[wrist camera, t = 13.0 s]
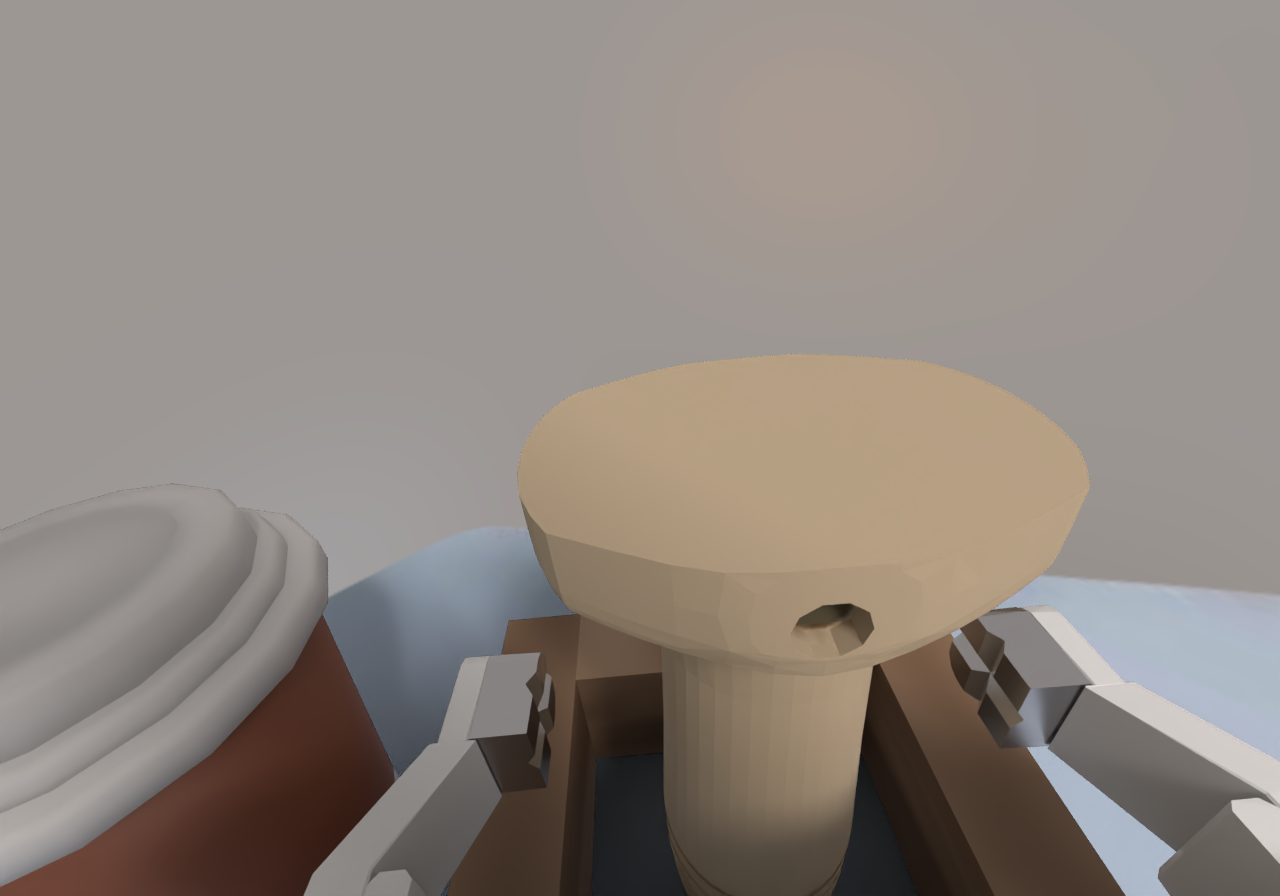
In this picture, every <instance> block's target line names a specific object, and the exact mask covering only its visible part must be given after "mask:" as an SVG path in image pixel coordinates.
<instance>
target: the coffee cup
mask: <svg viewBox="0 0 1280 896" xmlns="http://www.w3.org/2000/svg"><path fill="white" fill-rule="evenodd" d="M327 604H328V558H327V556H326V554H325V553H324V551H323V549H322V547H321V546H320V544H319V542H318V541H317V540H316V539H315V538H314V537H313V536H311V534H309V533H308V532H307V531H306V530H305V529H304V528H303V527H302V526H301V525H299V524H298V523H297V522H296V521H295V520H294V519H293V518H292V517H290V516H289V515H287V514H279V513H273V512H266V511H258V510H252V509H246V508H238V507H236V505H235V504H234V503H233V502H232V501H231V500H230V499H229V498H228V497H227V496H226V495H225V494H224V493H223V492H222V491H221V490H216V489H209V488H201V487H194V486H186V485H179V484H166V485H159V486H151V487H144V488H137V489H130V490H122V491H116V492H113V493H109V494H106V495H103V496H99V497H96V498H92V499H88V500H85V501H81V502H77V503H74V504H70V505H67V506H63V507H60V508H56V509H53V510H50V511H47V512H45V513H42V514H40V515H37V516H35V517H32V518H29V519H27V520H24V521H22V522H19V523H17V524H14V525H12V526H9V527H7V528H4V529H2V530H0V896H304V893H305V891H306V889H307V886H308V884H309V881H310V879H311V877H312V874H313V873H314V872H315V871H316V870H317V869H318V868H319V866H320V865H321V864H322V863H323V862H324V861H325V860H326V859H327V857H328V856H329V855H330V854H331V853H332V852H333V851H334V850H335V849H336V847H337V846H338V845H339V844H340V843H341V842H342V841H343V840H344V839H345V837H346V836H347V835H348V834H349V833H350V832H351V831H352V830H353V828H354V827H355V826H356V825H357V824H358V823H359V822H360V821H361V820H362V818H363V817H364V816H365V815H366V814H367V813H368V812H369V811H370V809H371V808H372V807H373V806H374V805H375V804H376V803H377V802H378V801H379V799H380V798H381V797H382V796H383V795H384V794H385V793H386V792H387V791H388V789H389V788H390V787H391V786H392V785H393V784H394V783H395V782H396V780H397V779H398V778H399V775H398V774H397V772H396V771H395V769H394V768H393V766H392V764H391V762H390V759H389V757H388V755H387V753H386V751H385V749H384V746H383V744H382V742H381V740H380V738H379V736H378V733H377V731H376V729H375V727H374V725H373V723H372V720H371V718H370V716H369V714H368V712H367V710H366V708H365V705H364V703H363V701H362V699H361V697H360V695H359V692H358V690H357V688H356V686H355V684H354V682H353V679H352V677H351V675H350V673H349V671H348V669H347V667H346V664H345V662H344V660H343V658H342V656H341V654H340V651H339V649H338V647H337V645H336V643H335V641H334V638H333V636H332V634H331V632H330V630H329V628H328V626H327V623H326V621H325V619H324V617H323V615H322V613H323V611H324V609H325V607H326V605H327Z"/></svg>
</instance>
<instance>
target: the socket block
mask: <svg viewBox="0 0 1280 896" xmlns="http://www.w3.org/2000/svg"><path fill="white" fill-rule="evenodd" d="M953 639H954V638H953V636H952V635H951V633H950V634H948V635H946V636H944V637H942V638H939V639H937V640H935V641H933V642H931V643H929V644H927V645H925V646H922V647H920V648H918V649H916V650H914V651H911V652H908V653H906V654H903V655H901V656H898V657H895V658H893V659H890V660H887V661H885V662H882V663H879V664H877V665H874V666H873V669H872V676H871V682H870V689H869V695H868V702H867V708H866V715H865V721H864V728H863V734H862V741H861V752H862V755H863V757H864V760H865V762H866V765H867V767H868V770H869V772H870V775H871V777H872V780H873V782H874V785H875V788H876V790H877V793H878V795H879V798H880V800H881V803H882V805H883V808H884V810H885V813H886V815H887V818H888V820H889V823H890V826H891V828H892V831H893V833H894V836H895V838H896V841H897V843H898V846H899V848H900V851H901V853H902V856H903V858H904V861H905V863H906V866H907V869H908V871H909V874H910V876H911V879H912V881H913V884H914V886H915V889H916V891H917V894H918V896H1125V894H1124V893H1123V891H1122V890H1121V888H1120V887H1119V885H1118V884H1117V882H1116V881H1115V879H1114V878H1113V876H1112V875H1111V873H1110V872H1109V870H1108V869H1107V867H1106V866H1105V864H1104V863H1103V861H1102V860H1101V858H1100V857H1099V855H1098V854H1097V852H1096V851H1095V849H1094V848H1093V846H1092V845H1091V843H1090V842H1089V840H1088V839H1087V837H1086V836H1085V834H1084V833H1083V831H1082V830H1081V828H1080V827H1079V825H1078V824H1077V822H1076V821H1075V819H1074V818H1073V816H1072V815H1071V813H1070V812H1069V810H1068V809H1067V807H1066V806H1065V804H1064V803H1063V801H1062V800H1061V798H1060V797H1059V795H1058V794H1057V792H1056V791H1055V789H1054V788H1053V786H1052V785H1051V783H1050V782H1049V780H1048V779H1047V777H1046V776H1045V774H1044V773H1043V771H1042V770H1041V768H1040V767H1039V765H1038V764H1037V762H1036V761H1035V759H1034V758H1033V756H1032V755H1031V753H1030V752H1029V750H1028V749H1027V747H1021V748H1003V749H1000V748H999V747H998V745H997V743H996V742H995V740H994V739H993V737H992V736H991V734H990V732H989V731H988V729H987V728H986V726H985V724H984V723H983V721H982V720H981V718H980V716H979V715H978V713H977V712H978V700H976V699H975V698H974V697H972V696H971V695H969V694H968V693H966V692H965V691H963V689H962V687H961V686H960V684H959V683H958V681H957V679H956V677H955V675H954V672H953V670H952V667H951V663H950V656H949V650H950V647H951V643H952V640H953ZM537 652H544V654H545V657H546V660H547V669H546V673H547V674H548V675H550V676H551V677H552V680H553V683H554V690H555V721H554V727H553V729H552V730H551V731H550V733H549V734H548V735H547V739H548V742H549V745H550V748H551V758H550V767H549V775H548V784H547V788H542V789H533V790H524V791H516V792H507V793H501V794H502V797H501V799H500V801H499V802H498V804H497V805H496V807H495V809H494V810H493V812H492V813H491V815H490V817H489V818H488V820H487V821H486V823H485V825H484V826H483V828H482V829H481V831H480V833H479V834H478V836H477V837H476V839H475V840H474V842H473V844H472V845H471V847H470V848H469V850H468V852H467V853H466V855H465V856H464V858H463V860H462V861H461V863H460V864H459V866H458V868H457V869H456V871H455V872H454V874H453V876H452V877H451V881H450V885H449V890H448V894H447V896H592V868H593V839H594V810H595V781H596V758H606V757H618V756H629V755H640V754H651V753H663V752H664V707H663V681H662V655H661V646H660V645H656V644H653V643H650V642H647V641H644V640H641V639H638V638H636V637H633V636H631V635H628V634H626V633H623V632H621V631H618V630H615V629H613V628H610V627H608V626H605V625H603V624H600V623H598V622H596V621H593V620H591V619H589V618H586V617H584V616H582V615H579V614H574V615H563V616H553V617H542V618H531V619H521V620H510V621H509V622H508V627H507V631H506V636H505V640H504V645H503V649H502V654H501V655H508V654H522V653H537Z"/></svg>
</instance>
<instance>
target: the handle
mask: <svg viewBox="0 0 1280 896" xmlns="http://www.w3.org/2000/svg"><path fill="white" fill-rule="evenodd" d="M517 478H518V487H519V496H520V500H521V504H522V508H523V511H524V515H525V518H526V523H527V526H528V530H529V533H530V537H531V540H532V544H533V547H534V551H535V554H536V556H537V559H538V561H539V563H540V566H541V568H542V570H543V572H544V574H545V576H546V578H547V580H548V582H549V583H550V585H551V587H552V588H553V590H554V591H555V593H556V594H557V595H558V596H559V598H560V599H561V600H562V602H563V603H564V604H565V605H566V607H567V608H568V609H569V610H570V611H572V612H575V613H577V614H579V615H582V616H584V617H586V618H589V619H591V620H593V621H596V622H598V623H600V624H603V625H605V626H608V627H610V628H613V629H615V630H618V631H621V632H623V633H626V634H628V635H631V636H633V637H636V638H638V639H641V640H644V641H647V642H650V643H653V644H656V645H660V646H661V655H662V681H663V707H664V801H665V810H666V817H667V825H668V833H669V839H670V844H671V848H672V851H673V855H674V859H675V862H676V865H677V869H678V872H679V875H680V878H681V881H682V883H683V886H684V888H685V891H686V893H687V895H688V896H831V895H832V893H833V890H834V888H835V886H836V883H837V881H838V878H839V875H840V873H841V869H842V866H843V862H844V859H845V855H846V851H847V846H848V843H849V838H850V833H851V828H852V819H853V811H854V802H855V793H856V785H857V776H858V767H859V759H860V750H861V741H862V734H863V728H864V721H865V715H866V708H867V702H868V695H869V689H870V682H871V676H872V669H873V666H874V665H877V664H879V663H882V662H885V661H887V660H890V659H893V658H895V657H898V656H901V655H903V654H906V653H908V652H911V651H914V650H916V649H918V648H920V647H922V646H925V645H927V644H929V643H931V642H933V641H935V640H937V639H939V638H942V637H944V636H946V635H948V634H950V633H952V632H954V631H956V630H958V629H960V628H961V627H963V626H965V625H967V624H968V623H970V622H972V621H974V620H975V619H977V618H979V617H981V616H982V615H984V614H986V613H988V612H989V611H991V610H992V609H994V608H995V607H997V606H998V605H1000V604H1001V603H1002V602H1004V601H1005V600H1007V599H1008V598H1010V597H1011V596H1013V595H1014V594H1016V593H1017V592H1018V591H1020V590H1021V589H1022V588H1024V587H1025V586H1026V585H1028V584H1029V583H1030V582H1032V581H1033V580H1034V579H1036V578H1037V577H1038V576H1039V575H1041V574H1042V573H1043V572H1045V571H1046V570H1047V569H1048V568H1049V567H1050V566H1051V564H1052V563H1053V561H1054V560H1055V558H1056V557H1057V555H1058V554H1059V552H1060V550H1061V548H1062V546H1063V544H1064V542H1065V540H1066V538H1067V536H1068V533H1069V531H1070V529H1071V527H1072V525H1073V523H1074V521H1075V519H1076V516H1077V514H1078V512H1079V510H1080V508H1081V505H1082V503H1083V501H1084V499H1085V497H1086V495H1087V492H1088V490H1089V488H1090V483H1089V476H1088V470H1087V466H1086V463H1085V461H1084V459H1083V457H1082V455H1081V453H1080V450H1079V448H1078V447H1077V446H1076V445H1075V443H1074V442H1073V441H1072V440H1071V439H1070V438H1069V437H1068V436H1067V435H1066V434H1065V433H1064V432H1063V431H1062V430H1061V428H1060V427H1059V426H1057V425H1056V424H1055V423H1053V422H1052V421H1051V420H1050V419H1048V418H1047V417H1046V416H1044V415H1043V414H1042V413H1040V412H1039V411H1038V410H1037V409H1035V408H1034V407H1032V406H1031V405H1029V404H1028V403H1026V402H1024V401H1022V400H1021V399H1019V398H1017V397H1015V396H1014V395H1012V394H1010V393H1009V392H1007V391H1005V390H1004V389H1001V388H999V387H997V386H995V385H993V384H990V383H988V382H986V381H984V380H982V379H979V378H977V377H975V376H972V375H969V374H966V373H963V372H959V371H956V370H954V369H950V368H947V367H943V366H940V365H936V364H932V363H928V362H924V361H914V360H900V359H887V358H873V357H858V356H842V355H818V354H815V355H814V354H790V355H774V356H773V355H772V356H760V357H749V358H739V359H728V360H717V361H707V362H699V363H692V364H685V365H678V366H673V367H669V368H664V369H660V370H655V371H651V372H647V373H644V374H641V375H637V376H633V377H629V378H626V379H622V380H619V381H616V382H612V383H608V384H605V385H602V386H598V387H595V388H592V389H588V390H585V391H581V392H578V393H575V394H573V395H571V396H570V397H568V398H567V399H565V400H564V401H562V402H561V403H559V404H558V405H556V406H555V407H554V408H553V409H552V410H550V411H549V412H548V413H547V414H545V415H544V416H543V417H542V419H541V420H540V421H539V423H538V424H537V425H536V426H535V428H534V429H533V430H532V431H531V433H530V435H529V437H528V439H527V441H526V443H525V445H524V447H523V450H522V452H521V456H520V461H519V467H518V472H517Z"/></svg>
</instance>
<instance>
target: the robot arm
mask: <svg viewBox="0 0 1280 896" xmlns="http://www.w3.org/2000/svg"><path fill="white" fill-rule="evenodd" d="M960 629H961V631H962V633H961V634H960V635H958V636H957V637H956V638H955V639H953V640H952V643H951V647H950V650H949V656H950V663H951V667H952V670H953V672H954V675H955V677H956V679H957V681H958V683H959V684H960V686H961V687H962V689H963V691H965V692H966V693H968V694H969V695H971V696H972V697H974V698H975V699H976V700H978V712H977V713H978V715H979V716H980V718H981V720H982V721H983V723H984V724H985V726H986V728H987V729H988V731H989V732H990V734H991V736H992V737H993V739H994V740H995V742H996V743H997V745H998V747H999V748H1000V749H1003V748H1021V747H1038V746H1049V747H1048V749H1049V750H1050V751H1051V752H1053V753H1054V754H1055V755H1056V756H1058V757H1059V758H1060V759H1061V760H1063V761H1064V762H1065V763H1066V764H1068V765H1069V766H1070V767H1071V768H1073V769H1074V770H1075V771H1076V772H1078V773H1079V774H1080V775H1081V776H1083V777H1084V778H1085V779H1086V780H1088V781H1089V782H1090V783H1091V784H1093V785H1094V786H1095V787H1096V788H1098V789H1099V790H1100V791H1101V792H1103V793H1104V794H1105V795H1106V796H1108V797H1109V798H1110V799H1111V800H1113V801H1114V802H1115V803H1116V804H1118V805H1119V806H1120V807H1121V808H1123V809H1124V810H1125V811H1126V812H1128V813H1129V814H1130V815H1131V816H1133V817H1134V818H1135V819H1136V820H1138V821H1139V822H1140V823H1141V824H1143V825H1144V826H1145V827H1146V828H1148V829H1149V830H1150V831H1151V832H1153V833H1154V834H1155V835H1156V836H1158V837H1159V838H1160V839H1161V840H1163V841H1164V842H1165V843H1166V844H1168V845H1169V846H1170V847H1171V848H1173V849H1174V850H1175V851H1176V853H1175V854H1174V855H1173V856H1172V857H1171V858H1170V859H1169V860H1168V861H1167V862H1165V863H1164V864H1163V865H1162V866H1161V867H1160V868H1159V874H1158V879H1159V880H1160V882H1161V883H1162V885H1163V886H1164V887H1165V889H1166V890H1167V892H1168V893H1169V894H1170V896H1280V761H1278V760H1276V759H1274V758H1272V757H1270V756H1269V755H1267V754H1265V753H1263V752H1261V751H1259V750H1258V749H1256V748H1254V747H1252V746H1250V745H1248V744H1247V743H1245V742H1243V741H1241V740H1239V739H1237V738H1236V737H1234V736H1232V735H1230V734H1228V733H1226V732H1225V731H1223V730H1221V729H1219V728H1217V727H1215V726H1214V725H1212V724H1210V723H1208V722H1206V721H1204V720H1203V719H1201V718H1199V717H1197V716H1195V715H1193V714H1192V713H1190V712H1188V711H1186V710H1184V709H1182V708H1181V707H1179V706H1177V705H1175V704H1173V703H1171V702H1170V701H1168V700H1166V699H1164V698H1162V697H1160V696H1159V695H1157V694H1155V693H1153V692H1151V691H1149V690H1148V689H1146V688H1144V687H1142V686H1140V685H1138V684H1137V683H1135V682H1124V681H1123V680H1122V679H1121V678H1120V677H1119V676H1118V675H1117V673H1116V672H1115V671H1114V670H1113V669H1112V668H1111V667H1110V666H1109V665H1108V664H1107V663H1106V662H1105V661H1104V660H1103V658H1102V657H1101V656H1100V655H1099V654H1098V653H1097V652H1096V651H1095V650H1094V649H1093V648H1092V647H1091V646H1090V645H1089V644H1088V642H1087V641H1086V640H1085V639H1084V638H1083V637H1082V636H1081V635H1080V634H1079V633H1078V632H1077V631H1076V630H1075V629H1074V627H1073V626H1072V625H1071V624H1070V623H1069V622H1068V621H1067V620H1066V619H1065V618H1064V617H1063V616H1062V615H1061V614H1060V613H1059V612H1058V611H1057V610H1056V609H1054V608H1053V607H1051V606H1049V605H1039V606H1030V607H1021V608H1017V607H1012V608H1003V609H994V610H991V611H989V612H988V613H986V614H984V615H982V616H981V617H979V618H977V619H975V620H974V621H972V622H970V623H968V624H967V625H965V626H963V627H961V628H960ZM546 669H547V660H546V657H545V654H544V652H537V653H522V654H508V655H493V656H492V655H491V656H480V657H468V658H465V660H464V661H463V663H462V664H461V666H460V669H459V672H458V675H457V679H456V682H455V685H454V689H453V692H452V695H451V699H450V702H449V705H448V709H447V712H446V715H445V719H444V722H443V725H442V728H441V732H440V735H439V738H438V742H437V743H433V744H429V745H428V746H427V747H426V748H425V749H424V750H423V751H422V753H421V754H420V755H419V756H418V757H417V758H416V759H415V760H414V761H413V763H412V764H411V765H410V766H409V767H408V768H407V769H406V770H405V772H404V773H403V774H402V775H401V776H400V777H399V778H398V779H397V780H396V782H395V783H394V784H393V785H392V786H391V787H390V788H389V789H388V791H387V792H386V793H385V794H384V795H383V796H382V797H381V798H380V799H379V801H378V802H377V803H376V804H375V805H374V806H373V807H372V808H371V809H370V811H369V812H368V813H367V814H366V815H365V816H364V817H363V818H362V820H361V821H360V822H359V823H358V824H357V825H356V826H355V827H354V828H353V830H352V831H351V832H350V833H349V834H348V835H347V836H346V837H345V839H344V840H343V841H342V842H341V843H340V844H339V845H338V846H337V847H336V849H335V850H334V851H333V852H332V853H331V854H330V855H329V856H328V857H327V859H326V860H325V861H324V862H323V863H322V864H321V865H320V866H319V868H318V869H317V870H316V871H315V872H314V873H313V874H312V877H311V879H310V881H309V884H308V886H307V889H306V891H305V893H304V896H440V895H441V893H442V892H443V890H444V888H445V887H446V885H447V884H448V882H449V880H450V879H451V877H452V876H453V874H454V872H455V871H456V869H457V868H458V866H459V864H460V863H461V861H462V860H463V858H464V856H465V855H466V853H467V852H468V850H469V848H470V847H471V845H472V844H473V842H474V840H475V839H476V837H477V836H478V834H479V833H480V831H481V829H482V828H483V826H484V825H485V823H486V821H487V820H488V818H489V817H490V815H491V813H492V812H493V810H494V809H495V807H496V805H497V804H498V802H499V801H500V799H501V797H502V794H501V793H507V792H516V791H524V790H533V789H542V788H547V784H548V775H549V767H550V758H551V748H550V745H549V742H548V739H547V735H548V734H549V733H550V731H551V730H552V729H553V727H554V721H555V690H554V683H553V680H552V677H551V676H550V675H548V674H547V673H546Z"/></svg>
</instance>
